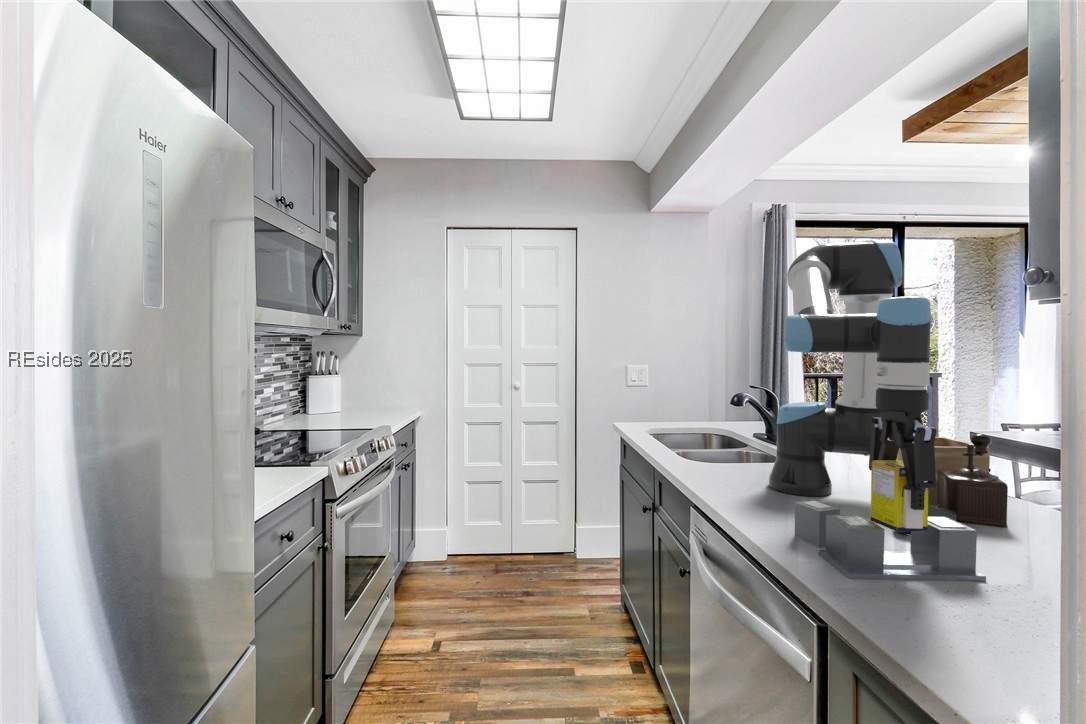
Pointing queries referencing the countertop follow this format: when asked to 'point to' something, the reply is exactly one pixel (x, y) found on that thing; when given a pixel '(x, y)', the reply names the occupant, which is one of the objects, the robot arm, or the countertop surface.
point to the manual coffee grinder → (974, 490)
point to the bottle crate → (951, 460)
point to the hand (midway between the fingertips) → (898, 520)
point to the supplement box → (891, 495)
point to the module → (812, 521)
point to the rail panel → (930, 556)
